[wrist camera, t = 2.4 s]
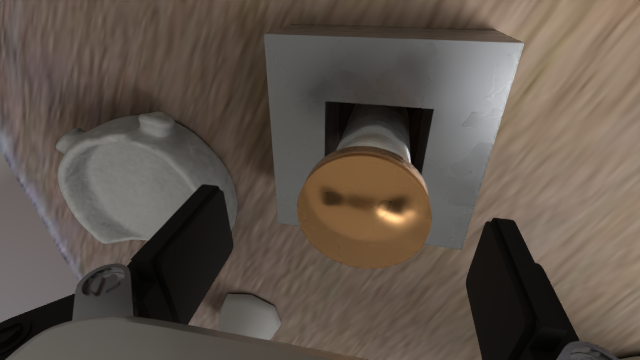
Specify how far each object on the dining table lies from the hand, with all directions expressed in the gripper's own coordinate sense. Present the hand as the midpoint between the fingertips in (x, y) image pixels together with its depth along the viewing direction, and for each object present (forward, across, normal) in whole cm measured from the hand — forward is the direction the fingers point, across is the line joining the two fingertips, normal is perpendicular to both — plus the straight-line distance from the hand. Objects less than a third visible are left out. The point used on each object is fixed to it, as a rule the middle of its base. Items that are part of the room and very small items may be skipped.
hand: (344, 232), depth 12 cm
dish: (+13, +17, +8) cm, 23 cm away
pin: (+13, -1, +1) cm, 13 cm away
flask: (+13, +11, +25) cm, 30 cm away
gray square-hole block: (+13, -1, +1) cm, 13 cm away
